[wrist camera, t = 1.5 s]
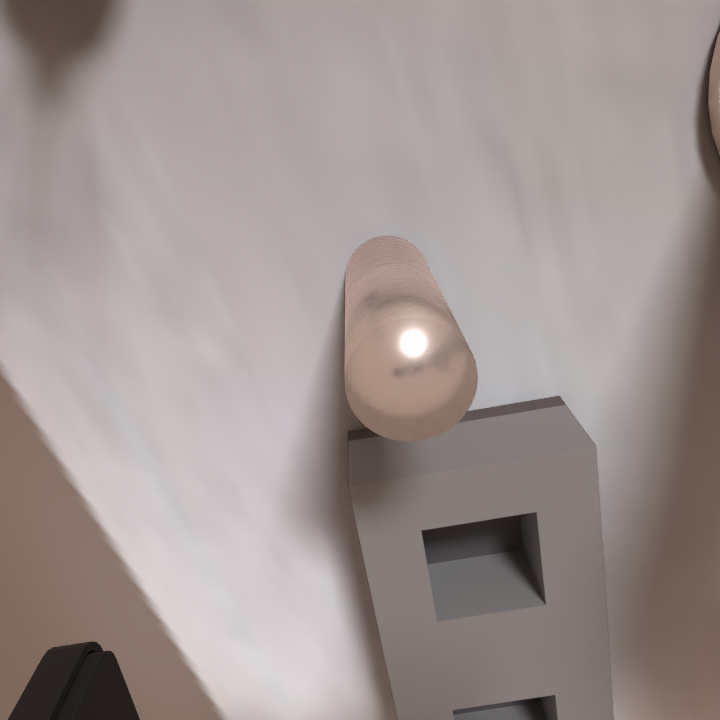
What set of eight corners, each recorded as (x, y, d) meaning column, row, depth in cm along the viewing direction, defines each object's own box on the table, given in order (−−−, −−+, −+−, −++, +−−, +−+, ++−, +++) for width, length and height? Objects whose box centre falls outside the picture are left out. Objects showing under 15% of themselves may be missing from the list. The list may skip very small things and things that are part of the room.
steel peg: (421, 228, 29) (469, 306, 18) (433, 309, 30) (484, 429, 19) (338, 244, 29) (332, 330, 18) (353, 323, 30) (357, 451, 19)
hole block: (559, 396, 32) (596, 445, 27) (585, 714, 39) (618, 799, 34) (348, 431, 32) (348, 487, 28) (411, 740, 39) (420, 827, 34)
